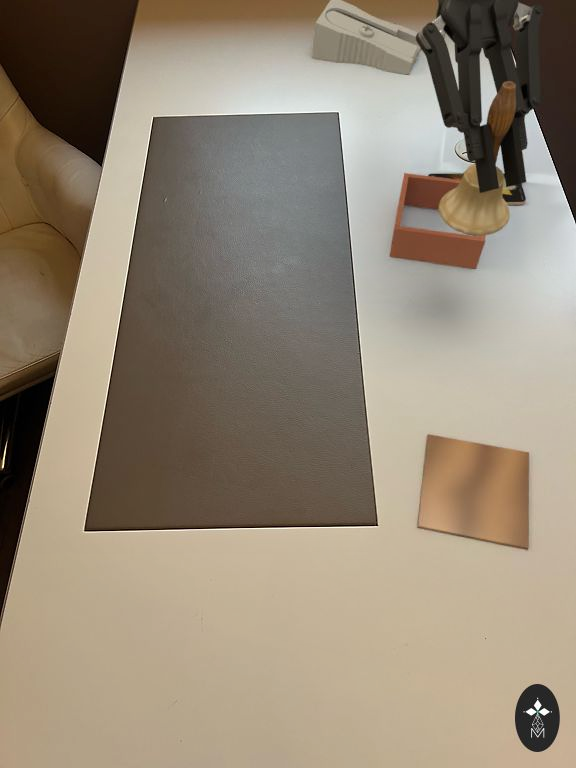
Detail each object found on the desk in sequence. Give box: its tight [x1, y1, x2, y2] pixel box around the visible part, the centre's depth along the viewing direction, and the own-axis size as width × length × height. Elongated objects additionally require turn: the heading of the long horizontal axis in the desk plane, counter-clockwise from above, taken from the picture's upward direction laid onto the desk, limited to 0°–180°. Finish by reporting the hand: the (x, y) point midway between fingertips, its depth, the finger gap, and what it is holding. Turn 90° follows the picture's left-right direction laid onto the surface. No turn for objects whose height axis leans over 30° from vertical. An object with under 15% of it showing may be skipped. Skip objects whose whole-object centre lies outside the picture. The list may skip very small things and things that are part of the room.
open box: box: [389, 172, 487, 270], centre depth 94 cm, size 13×13×6 cm
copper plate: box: [417, 433, 530, 550], centre depth 72 cm, size 12×12×1 cm
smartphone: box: [427, 172, 527, 205], centre depth 101 cm, size 7×1×15 cm
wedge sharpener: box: [311, 0, 422, 76], centre depth 123 cm, size 11×20×7 cm, turn 70°
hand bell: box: [438, 81, 516, 236], centre depth 68 cm, size 8×8×16 cm
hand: (502, 187), depth 67 cm, fingers closed on hand bell, 2 cm apart
